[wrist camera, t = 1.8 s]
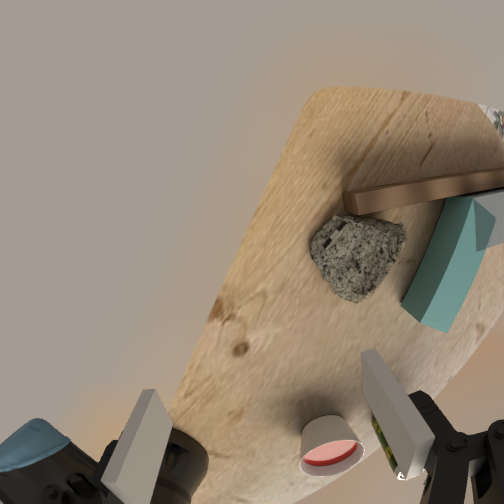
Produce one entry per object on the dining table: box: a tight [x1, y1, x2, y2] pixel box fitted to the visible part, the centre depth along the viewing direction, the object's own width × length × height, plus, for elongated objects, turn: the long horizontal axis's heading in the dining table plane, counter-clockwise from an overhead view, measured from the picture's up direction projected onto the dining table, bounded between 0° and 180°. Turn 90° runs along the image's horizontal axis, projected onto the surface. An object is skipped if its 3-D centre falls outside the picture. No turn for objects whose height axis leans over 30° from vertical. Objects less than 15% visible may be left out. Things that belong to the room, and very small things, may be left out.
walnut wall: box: [342, 168, 504, 215], centre depth 27 cm, size 28×2×4 cm, turn 103°
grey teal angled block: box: [401, 187, 504, 333], centre depth 28 cm, size 21×15×5 cm
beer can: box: [372, 416, 425, 480], centre depth 30 cm, size 5×5×12 cm
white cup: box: [299, 415, 365, 477], centre depth 33 cm, size 9×9×6 cm
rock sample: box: [310, 215, 407, 304], centre depth 28 cm, size 10×8×9 cm
